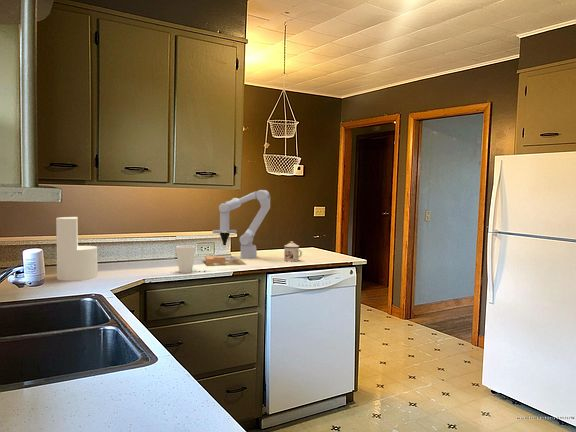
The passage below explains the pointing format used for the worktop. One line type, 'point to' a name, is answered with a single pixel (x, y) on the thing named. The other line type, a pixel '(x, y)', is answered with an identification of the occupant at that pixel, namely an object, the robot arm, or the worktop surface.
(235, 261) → the board
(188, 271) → the foam cup
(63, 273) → the cream l-shaped block
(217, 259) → the t block
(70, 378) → the worktop surface
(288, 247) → the teacup with lid
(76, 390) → the worktop surface
